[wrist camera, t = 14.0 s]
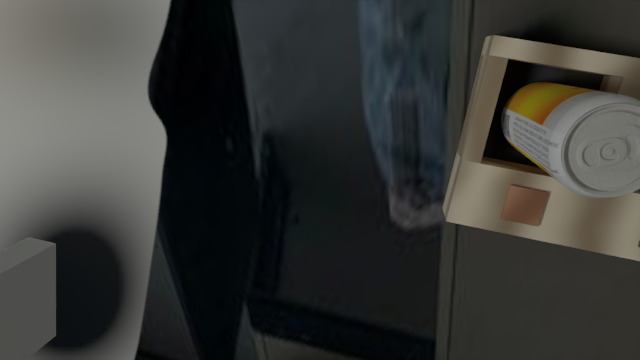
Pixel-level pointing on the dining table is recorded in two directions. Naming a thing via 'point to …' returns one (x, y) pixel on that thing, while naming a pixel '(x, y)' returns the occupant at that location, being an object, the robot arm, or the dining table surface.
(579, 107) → the beer can
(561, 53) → the socket board
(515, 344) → the dining table surface
